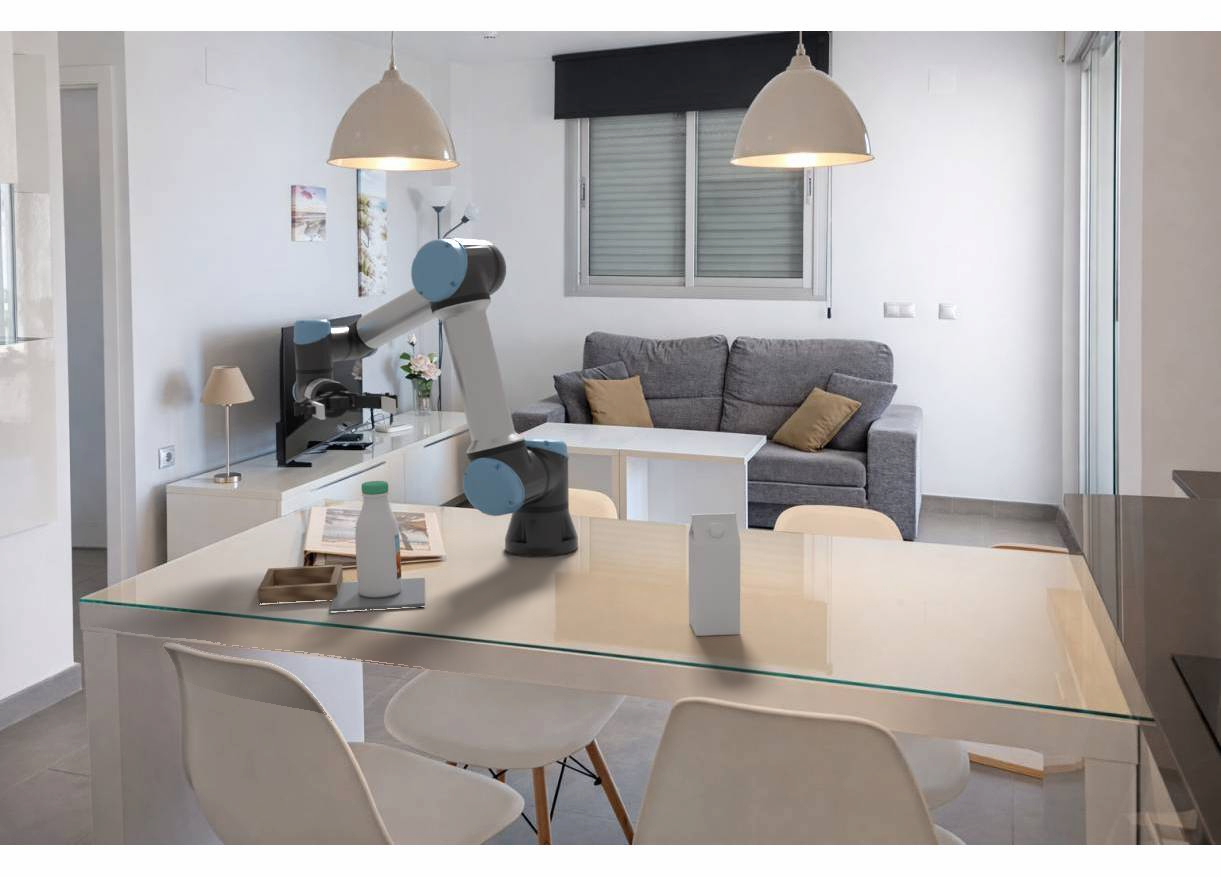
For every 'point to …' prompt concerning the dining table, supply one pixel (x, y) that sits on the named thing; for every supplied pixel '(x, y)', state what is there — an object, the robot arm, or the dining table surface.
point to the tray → (300, 576)
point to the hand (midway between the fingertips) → (359, 409)
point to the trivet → (407, 597)
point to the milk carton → (714, 574)
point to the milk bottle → (377, 544)
